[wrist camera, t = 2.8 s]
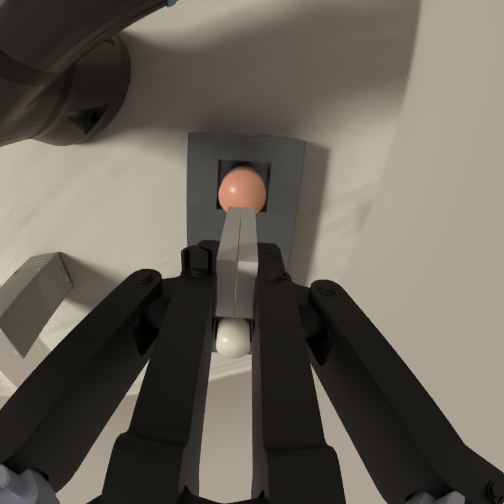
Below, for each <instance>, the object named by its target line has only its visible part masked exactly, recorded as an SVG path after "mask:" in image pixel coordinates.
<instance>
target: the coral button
mask: <svg viewBox="0 0 504 504" xmlns="http://www.w3.org/2000/svg"><path fill="white" fill-rule="evenodd" d="M265 200H266V191H265V187H264V183H263V179H262V177H261V175H260V174H259V173H258V172H257V171H256V170H255V169H253V168H251V167H248V166H238V167H235V168H233V169H231V170H230V171H229V172H228V173H227V174H226V175H225V177H224V179H223V182H222V184H221V186H220V189H219V202H220V204H221V206H222V208H223V209H224V210H225V211H226V212H227V211H228V207H229V206H230V207H241V213H242V207H245V208H255V214H256V213H258V212H259V211H260V210H261V209H262V207H263V205H264V203H265Z"/></svg>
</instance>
